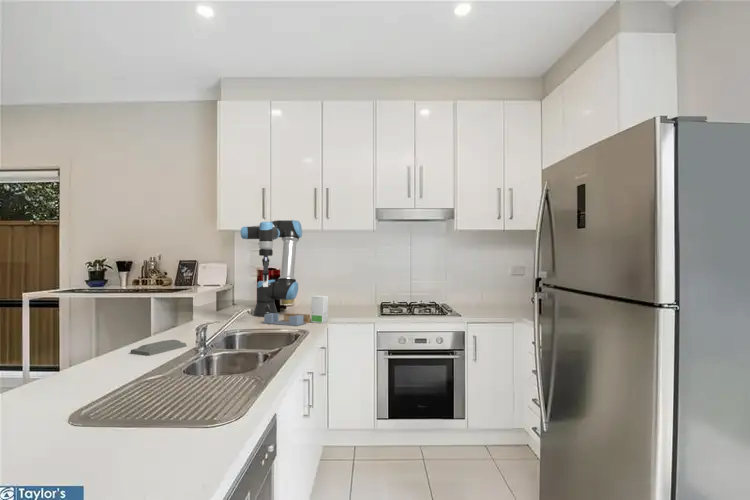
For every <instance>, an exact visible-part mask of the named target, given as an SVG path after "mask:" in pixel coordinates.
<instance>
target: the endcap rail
mask: <svg viewBox="0 0 750 500" xmlns="http://www.w3.org/2000/svg"><path fill="white" fill-rule="evenodd" d="M279 315H280V313H278V312H277V313H270V314H264V316H263V317H264V319H263V320H264V321H262V322H261V324H263V325H274V326H275V325H276V326H287V327H288V326H289V327H290V326H291V327H300V326H304V325H307V323H303V315H295V316H289V322H287V321H284V320H279V318H280V316H279Z"/></svg>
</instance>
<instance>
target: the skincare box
mask: <svg viewBox="0 0 750 500" xmlns="http://www.w3.org/2000/svg"><path fill="white" fill-rule="evenodd" d="M310 308H311V309H310V310H311V312H310V323H314V324H315V323H317V324H324V323H328V318H329V317H328V316H329V313H328V312H329V296H327V295H312V296H311V307H310Z"/></svg>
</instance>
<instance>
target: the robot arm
mask: <svg viewBox="0 0 750 500" xmlns="http://www.w3.org/2000/svg"><path fill="white" fill-rule="evenodd" d="M240 237H241V239H243V240H258V241H259V242H258V243H257V244H258V246H259V250H258V255H259V256H263V258H262V259H261V260H262V261H261V262H262V266H263V269H262V270H263V271H262V273H261V275H262V280H259V281H257V283H256V304H255V308H254V311H253V316H255V317H264V314H270V313H277V314H278V310H277V307H276V304H275V300H286V301H289V300H294V299H296V297H297V295H298V291H299V283H298V281H297V280H296V278H295V268H296V267H295V266H296V265H295V264H296V255H297V243H298V242H299V241H300V239H301V238H302V237H303V227H302V224H301V222H300V221H299V220H294V219H291V220H285V219H284V220H278V219H277V220H272V221H261V222H260V223H259V224H258V225H253V226H242V227H241V228H240ZM279 238H281V240H282V241H283V245H282V258H281V266H280V267H281V268H280V276H279V277H278V278H277V281H276V279H269V274H270V272H269V266H270V258H269V256H270V257H272V256H273V254H274V253H273V249H274V242H273V241H274V240H277V239H279Z"/></svg>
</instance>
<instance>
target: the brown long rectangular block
mask: <svg viewBox="0 0 750 500" xmlns="http://www.w3.org/2000/svg"><path fill="white" fill-rule="evenodd" d="M295 315H303V323H306V324H311V314H303V313H291V312H290V313H289V312H286V313H283V321H287V322H289V316H295Z"/></svg>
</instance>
